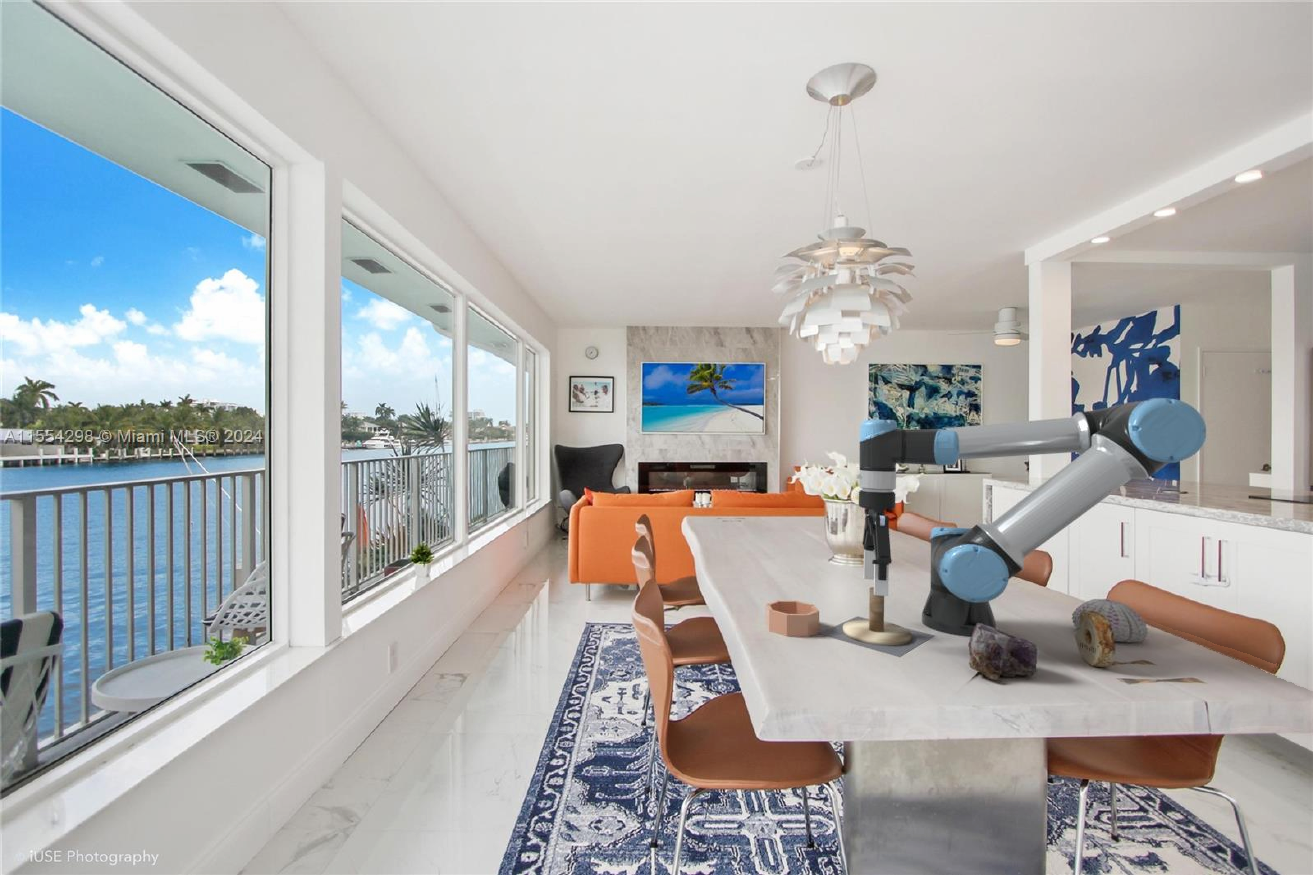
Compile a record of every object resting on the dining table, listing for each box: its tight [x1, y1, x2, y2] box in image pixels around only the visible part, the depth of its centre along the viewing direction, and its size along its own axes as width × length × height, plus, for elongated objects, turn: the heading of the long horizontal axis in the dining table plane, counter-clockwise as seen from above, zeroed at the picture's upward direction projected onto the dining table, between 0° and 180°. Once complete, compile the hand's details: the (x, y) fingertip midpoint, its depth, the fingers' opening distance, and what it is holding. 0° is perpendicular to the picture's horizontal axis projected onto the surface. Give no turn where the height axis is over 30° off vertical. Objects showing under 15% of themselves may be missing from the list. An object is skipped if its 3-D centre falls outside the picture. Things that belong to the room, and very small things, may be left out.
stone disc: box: [1074, 611, 1116, 668], centre depth 111 cm, size 10×4×10 cm, turn 163°
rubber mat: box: [817, 616, 936, 658], centre depth 125 cm, size 18×18×1 cm
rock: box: [967, 623, 1038, 681], centre depth 107 cm, size 12×9×10 cm
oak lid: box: [843, 586, 911, 646], centre depth 125 cm, size 14×14×10 cm
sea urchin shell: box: [1071, 598, 1149, 643], centre depth 127 cm, size 13×14×8 cm
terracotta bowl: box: [765, 600, 820, 638], centre depth 129 cm, size 11×11×5 cm
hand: (875, 586), depth 126 cm, fingers open, 13 cm apart
